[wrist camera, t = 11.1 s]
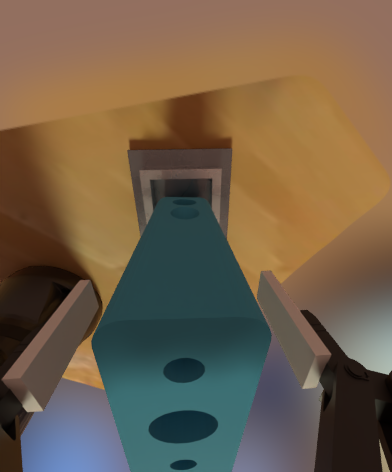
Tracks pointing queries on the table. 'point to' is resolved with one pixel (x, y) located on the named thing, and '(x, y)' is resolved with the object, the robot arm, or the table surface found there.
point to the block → (181, 344)
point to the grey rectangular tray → (181, 179)
